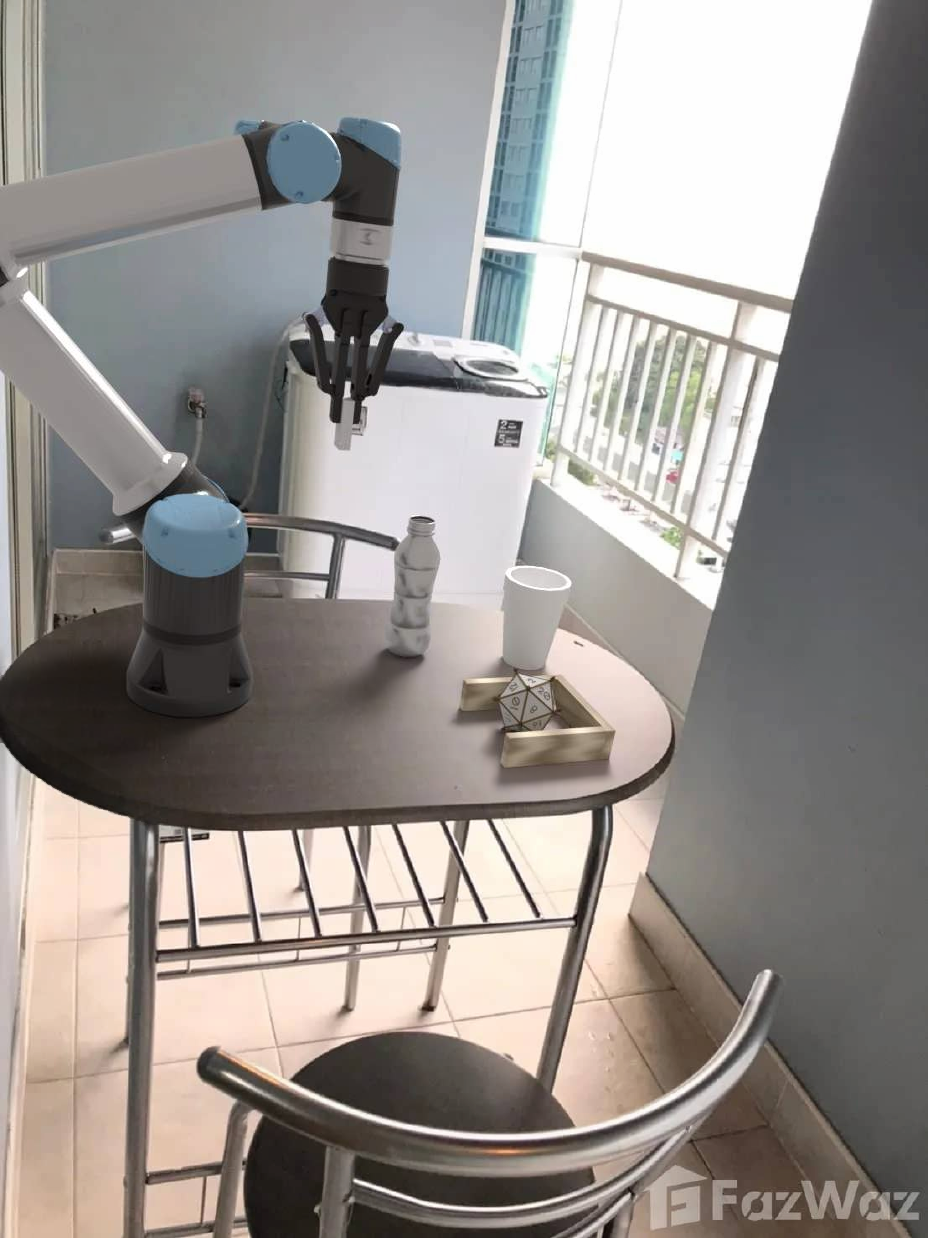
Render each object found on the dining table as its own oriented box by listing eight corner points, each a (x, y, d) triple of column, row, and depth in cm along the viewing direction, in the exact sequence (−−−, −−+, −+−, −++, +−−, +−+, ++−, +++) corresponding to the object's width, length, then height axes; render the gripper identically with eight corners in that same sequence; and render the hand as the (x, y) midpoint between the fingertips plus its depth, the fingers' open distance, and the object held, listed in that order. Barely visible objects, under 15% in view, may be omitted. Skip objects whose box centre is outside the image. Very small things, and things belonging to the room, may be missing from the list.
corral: (504, 767, 118) (509, 738, 117) (459, 706, 131) (463, 679, 130) (609, 758, 124) (615, 730, 122) (556, 701, 136) (561, 674, 135)
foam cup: (551, 680, 142) (567, 595, 137) (487, 666, 144) (501, 582, 139) (558, 654, 151) (574, 573, 146) (498, 641, 152) (511, 561, 147)
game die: (529, 753, 130) (583, 698, 129) (521, 762, 121) (579, 703, 120) (480, 704, 131) (533, 649, 130) (468, 710, 123) (525, 651, 121)
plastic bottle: (437, 653, 145) (455, 521, 138) (410, 667, 140) (428, 530, 132) (401, 638, 148) (417, 508, 141) (373, 651, 143) (388, 517, 135)
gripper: (314, 256, 118) (299, 453, 127) (419, 268, 123) (397, 457, 132) (300, 249, 124) (286, 438, 133) (400, 261, 129) (381, 442, 138)
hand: (342, 447), depth 132 cm, fingers closed
